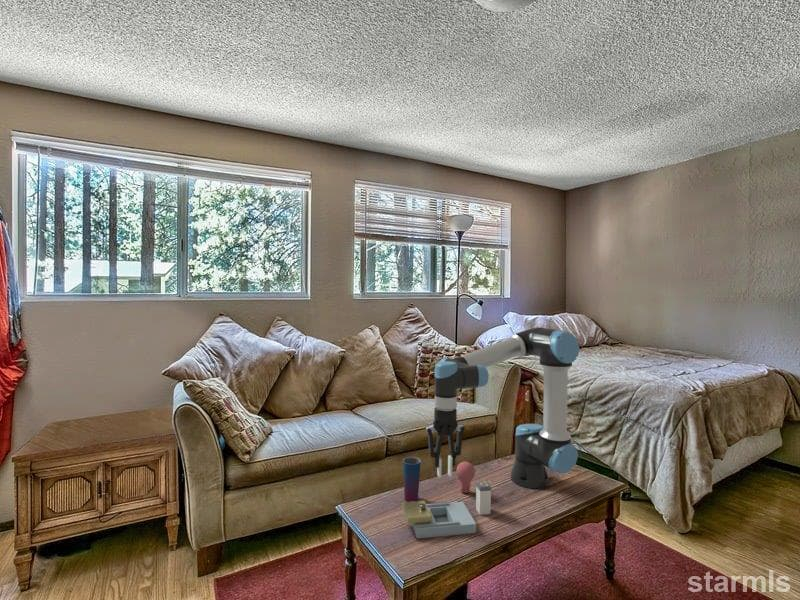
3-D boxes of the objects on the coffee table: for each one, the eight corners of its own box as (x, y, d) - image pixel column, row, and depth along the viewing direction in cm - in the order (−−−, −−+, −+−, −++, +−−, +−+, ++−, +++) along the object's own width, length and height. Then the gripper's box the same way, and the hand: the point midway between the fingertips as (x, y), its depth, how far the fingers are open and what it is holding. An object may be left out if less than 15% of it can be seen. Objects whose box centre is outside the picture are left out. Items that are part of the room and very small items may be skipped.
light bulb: (474, 498, 159) (474, 467, 158) (455, 495, 160) (455, 465, 160) (474, 489, 166) (475, 459, 165) (456, 487, 167) (457, 457, 166)
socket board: (462, 509, 150) (462, 500, 150) (476, 532, 136) (476, 522, 136) (408, 514, 147) (408, 504, 147) (416, 538, 133) (416, 527, 133)
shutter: (424, 507, 146) (424, 497, 145) (431, 523, 136) (431, 512, 136) (402, 509, 144) (402, 498, 144) (407, 525, 134) (407, 514, 134)
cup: (406, 505, 153) (407, 465, 152) (399, 496, 159) (399, 458, 158) (423, 501, 155) (423, 462, 155) (415, 493, 162) (416, 455, 161)
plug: (486, 507, 152) (486, 480, 151) (490, 513, 148) (491, 485, 147) (475, 508, 151) (476, 481, 151) (479, 514, 147) (480, 486, 147)
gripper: (464, 403, 145) (463, 469, 146) (419, 405, 142) (419, 472, 143) (472, 410, 138) (471, 479, 139) (424, 412, 135) (423, 482, 136)
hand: (444, 475), depth 141 cm, fingers open, 3 cm apart
